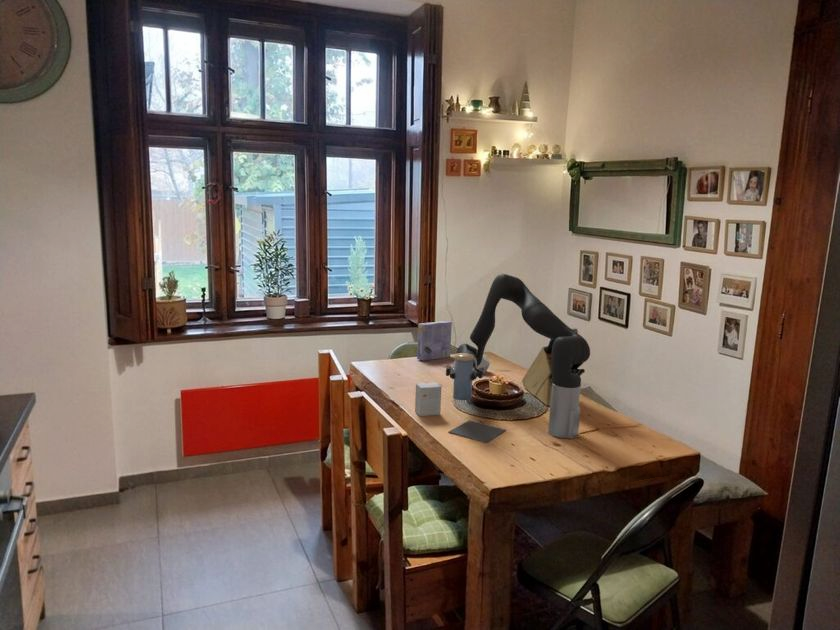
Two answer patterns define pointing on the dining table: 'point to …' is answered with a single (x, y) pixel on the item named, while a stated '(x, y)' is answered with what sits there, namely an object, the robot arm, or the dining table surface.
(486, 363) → the die
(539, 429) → the dining table surface
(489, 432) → the mat
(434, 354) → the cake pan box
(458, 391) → the jar
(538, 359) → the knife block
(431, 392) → the small box
